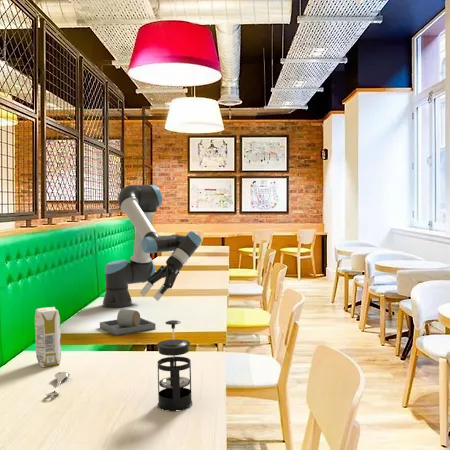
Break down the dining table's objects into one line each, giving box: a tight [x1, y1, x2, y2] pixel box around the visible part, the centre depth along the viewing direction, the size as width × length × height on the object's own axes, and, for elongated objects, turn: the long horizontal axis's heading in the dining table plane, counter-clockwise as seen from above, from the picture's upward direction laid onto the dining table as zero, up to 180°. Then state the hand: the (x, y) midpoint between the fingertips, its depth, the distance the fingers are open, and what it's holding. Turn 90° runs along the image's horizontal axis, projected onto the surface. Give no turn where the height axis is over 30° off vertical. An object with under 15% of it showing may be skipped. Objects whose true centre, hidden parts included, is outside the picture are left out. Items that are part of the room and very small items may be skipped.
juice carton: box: [34, 306, 62, 368], centre depth 188 cm, size 8×9×19 cm
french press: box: [156, 319, 193, 412], centre depth 148 cm, size 12×9×23 cm
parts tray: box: [99, 317, 157, 337], centre depth 237 cm, size 18×18×2 cm
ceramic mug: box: [116, 308, 141, 327], centre depth 240 cm, size 11×8×8 cm
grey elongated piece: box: [45, 371, 71, 396], centre depth 164 cm, size 20×4×5 cm
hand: (148, 296), depth 243 cm, fingers open, 13 cm apart
